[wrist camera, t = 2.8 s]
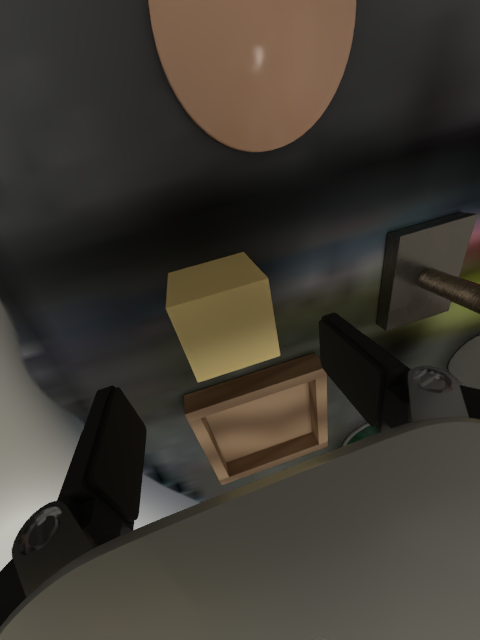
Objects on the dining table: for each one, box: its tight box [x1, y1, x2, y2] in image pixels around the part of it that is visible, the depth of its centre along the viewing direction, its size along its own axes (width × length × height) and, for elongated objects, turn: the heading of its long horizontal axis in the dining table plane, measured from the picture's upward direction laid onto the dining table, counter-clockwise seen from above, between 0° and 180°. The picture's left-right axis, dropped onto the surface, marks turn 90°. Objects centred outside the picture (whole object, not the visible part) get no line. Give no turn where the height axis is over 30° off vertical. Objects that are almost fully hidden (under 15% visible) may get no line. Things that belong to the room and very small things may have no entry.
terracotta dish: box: [148, 0, 356, 152], centre depth 11 cm, size 9×9×1 cm
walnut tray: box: [184, 353, 328, 485], centre depth 24 cm, size 12×12×2 cm
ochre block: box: [166, 252, 280, 382], centre depth 15 cm, size 5×5×5 cm
